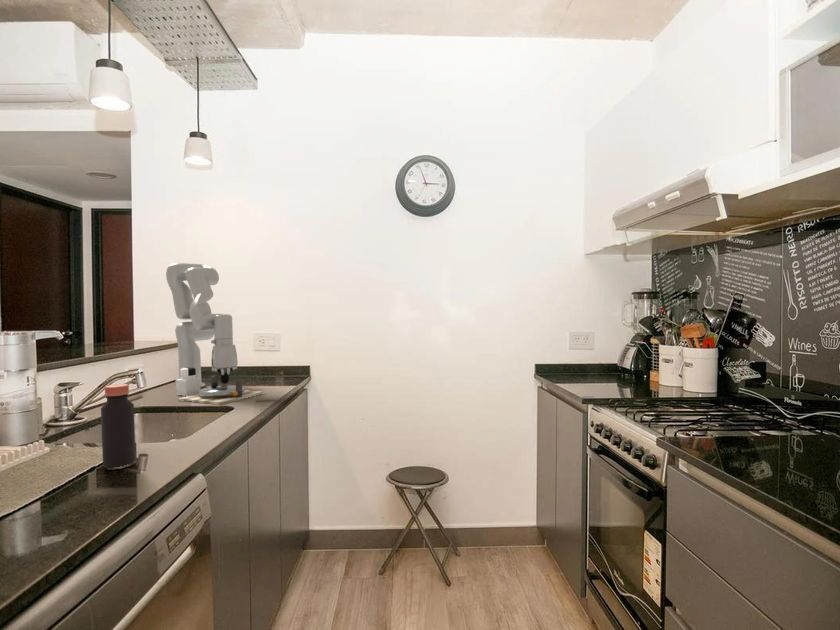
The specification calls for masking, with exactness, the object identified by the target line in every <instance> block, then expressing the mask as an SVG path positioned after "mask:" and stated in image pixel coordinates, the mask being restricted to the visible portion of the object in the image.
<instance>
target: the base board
mask: <svg viewBox="0 0 840 630" xmlns="http://www.w3.org/2000/svg"><path fill="white" fill-rule="evenodd" d="M235 385H236V391H237V392H238V395H236V396H231V395H229V396H219V397H204V396H200V395H199V394H195V395H191V396H186V397H185V396H181V397H178V398H177V401H178V400H184V401H183V402H185V401H192V402H191V403H195V402H199V403H198V404H206V405H216V406H223V405H226V404H229V403H233V402H237V400H238V401H241V399H242V400H245V399H244V398H246V399H249V398H248V397H250V398H253V397H257V396H260V395H259V394H261V395H264V394H265V391H261V390H252V389H251V390H249V389H244V392H242V386H243V379H236V380H235ZM263 393H264V394H263ZM256 395H257V396H256ZM252 396H253V397H252Z"/></svg>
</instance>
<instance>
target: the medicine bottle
mask: <svg viewBox="0 0 840 630" xmlns="http://www.w3.org/2000/svg"><path fill="white" fill-rule="evenodd" d="M180 373H181V379H178V378H177V380H176V379H175V380H176V382H175V384H176V385H175V389H176V395H177V396H178V395H182V396H181V397H185V396H191V395H195V394H199V390H201V389H202V387H201V383H202V381H201V382H200V378H195V376H196V369H195V368H193V367H187V368H182V369H181V370H180Z"/></svg>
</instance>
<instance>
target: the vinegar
mask: <svg viewBox="0 0 840 630" xmlns="http://www.w3.org/2000/svg"><path fill="white" fill-rule="evenodd" d="M129 387H130V386H129V384H128V383H119V384H117V383H116V384H110V385H105V387H104V396H105V399H106V402H104V404H103V405H102V406H101V408H100V418H101V419H100V421H101V444H102V445H101V448H102V450H101V451H102V467H103V466H104V467H106V468H114V467H120V466H124V465H127V464H130V463H133V462H134V461H135V460H137V459H136V458H137V457H136V456H137V455H136V434H135V430H136V429H135V406H134V403H133V402H132V401H131V400H130V399H129V398H128V397H129V396H130V395H129V393H130V390H129V389H130V388H129Z"/></svg>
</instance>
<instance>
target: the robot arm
mask: <svg viewBox="0 0 840 630" xmlns="http://www.w3.org/2000/svg"><path fill="white" fill-rule="evenodd" d="M165 273H166V274H165V277H166V282H167V284H168V287H169V289H170V291H171V294H172V301H173V306H174V311H175V315H176V317H177V318H178V319H179V320H185V321H183V322H180V323H178V324H177V325H176V327H175V329H174V331H175V337H176V343H177V349H178V351H177V353H178V355H177V356H178V378H177V379H181V373H180V370H181V369H182V368H187V367H193V368H195V369H196V376H195V378H200V382H201V388H203V387H205V386H206V384H205V382H202V366H201V365H202V364H201V362H202V361H201V348H200V347H199V345H198V344H197V343H196V342H199V341H208V340H209V341H210V340H211V341H210V343H211V344H213V346H212V352H211V372H215V373H218V374H219V375H220V383H222V384H223V385H225V384H226V385H228V384H229V381H230V379H229V378H230V377H229V376H230V374H231V372H232V371H234V370H237V369H238V364H239V363H238V353H237V348H236V344H234V335H233V334H234V332H233V331H234V329H233V316H232V315H231V314H227V313H225V314H223V313H212V309H211V306H210V304H209V301H210V300H212V298H213V297H214V291H213V289H212V287H211V286H216V285H217V284H218V283H219V280H220V277H219V276H220V275H219V273H218V271H217V269H215V268H213V267H212V266H210V265H209V266H208V265H205V264H201V263H186V262H175V263H171V264H170V265H168V267H167V268H166V272H165ZM185 281H186V282H187V283H188V285H187V283H185ZM186 320H191V321H186ZM177 379H175V380H174V381H175V383H176V380H177Z"/></svg>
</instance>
